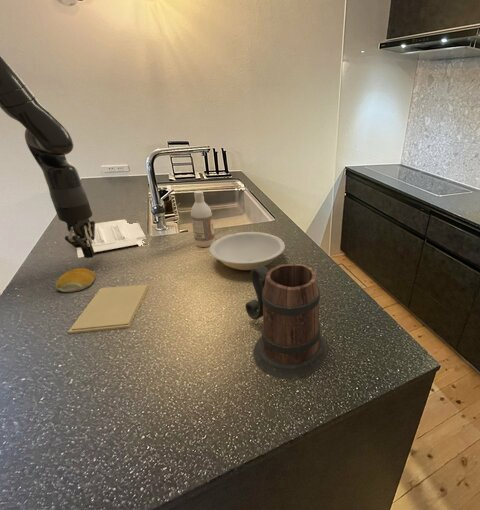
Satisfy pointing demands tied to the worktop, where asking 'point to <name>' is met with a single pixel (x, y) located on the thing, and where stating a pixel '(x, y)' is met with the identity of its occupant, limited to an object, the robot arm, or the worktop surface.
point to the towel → (111, 309)
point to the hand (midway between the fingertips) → (90, 256)
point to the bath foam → (202, 221)
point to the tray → (115, 236)
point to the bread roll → (75, 280)
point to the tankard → (287, 320)
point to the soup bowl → (247, 249)
